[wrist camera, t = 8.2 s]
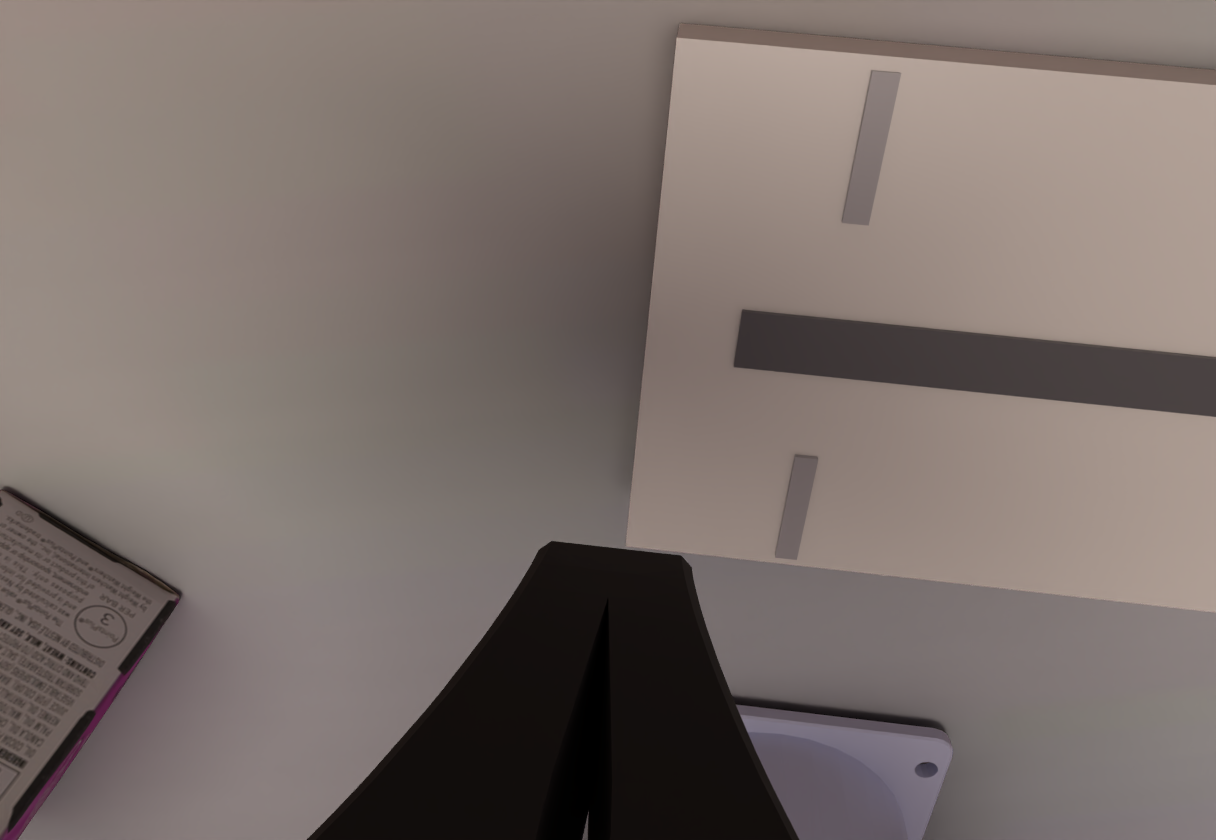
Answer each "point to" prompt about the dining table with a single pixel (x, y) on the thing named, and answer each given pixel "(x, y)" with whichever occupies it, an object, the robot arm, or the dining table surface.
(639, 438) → the console
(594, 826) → the robot arm
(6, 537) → the candy bar box
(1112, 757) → the dining table surface
